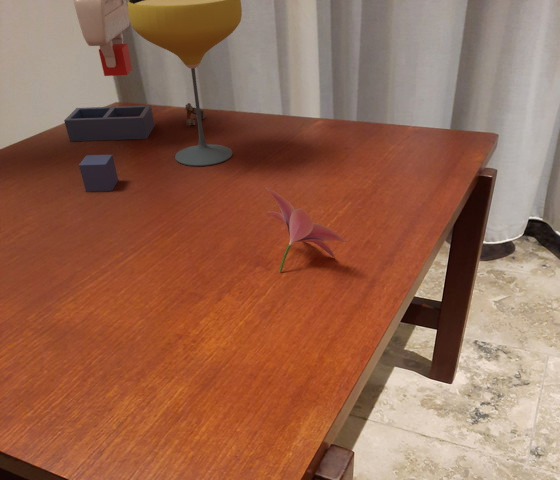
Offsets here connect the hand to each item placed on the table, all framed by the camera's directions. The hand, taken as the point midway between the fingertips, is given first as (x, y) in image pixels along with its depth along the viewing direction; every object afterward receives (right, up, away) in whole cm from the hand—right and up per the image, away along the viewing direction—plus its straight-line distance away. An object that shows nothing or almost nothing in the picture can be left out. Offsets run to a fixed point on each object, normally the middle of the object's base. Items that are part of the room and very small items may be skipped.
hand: (116, 63), depth 107 cm
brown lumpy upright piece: (+14, -6, +12) cm, 20 cm away
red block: (0, -1, +1) cm, 2 cm away
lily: (+35, -45, -34) cm, 66 cm away
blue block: (+1, -28, -12) cm, 31 cm away
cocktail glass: (+17, -19, -3) cm, 26 cm away
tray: (-3, -10, +9) cm, 14 cm away
